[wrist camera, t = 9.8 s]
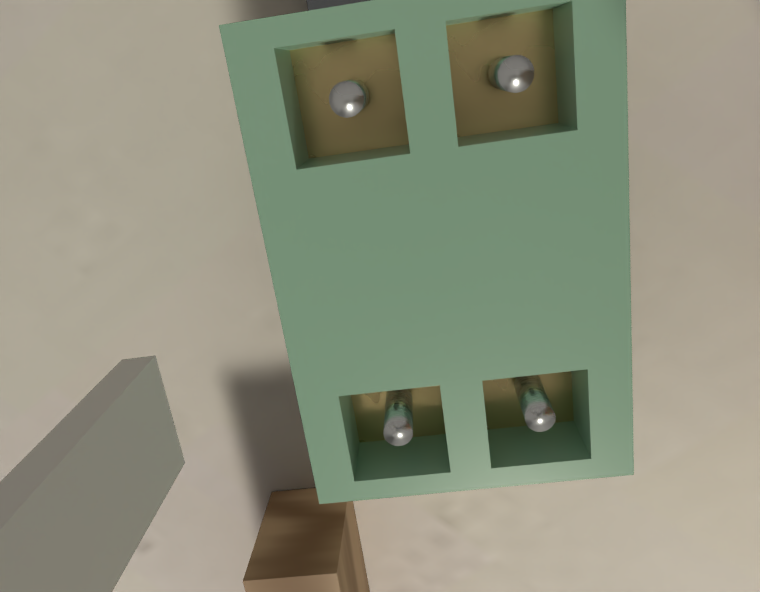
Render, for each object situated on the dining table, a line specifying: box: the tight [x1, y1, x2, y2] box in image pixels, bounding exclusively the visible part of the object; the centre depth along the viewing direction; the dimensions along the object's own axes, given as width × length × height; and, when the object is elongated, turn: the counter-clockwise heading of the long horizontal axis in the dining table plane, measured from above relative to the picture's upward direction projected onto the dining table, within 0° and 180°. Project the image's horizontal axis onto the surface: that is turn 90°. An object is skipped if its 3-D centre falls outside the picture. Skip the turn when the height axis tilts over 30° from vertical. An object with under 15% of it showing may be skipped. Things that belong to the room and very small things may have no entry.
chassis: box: [290, 0, 574, 446], centre depth 24 cm, size 9×20×8 cm, turn 8°
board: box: [219, 0, 634, 504], centre depth 21 cm, size 11×16×2 cm
